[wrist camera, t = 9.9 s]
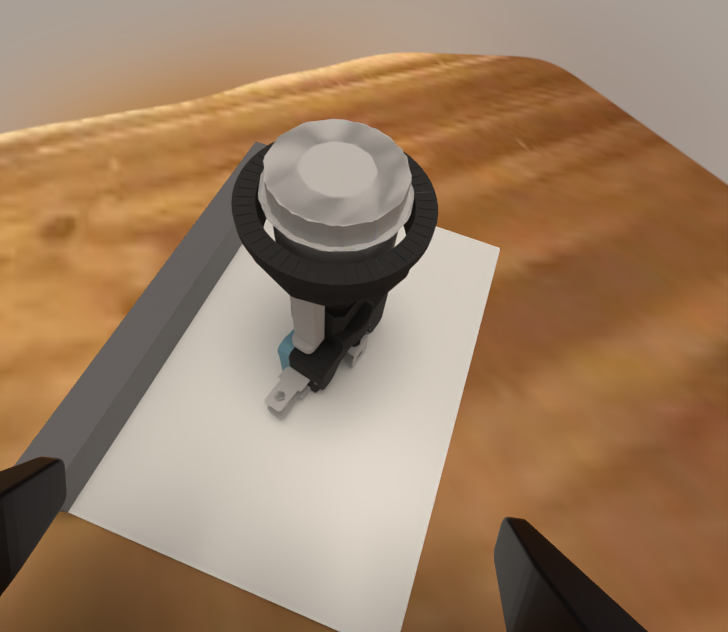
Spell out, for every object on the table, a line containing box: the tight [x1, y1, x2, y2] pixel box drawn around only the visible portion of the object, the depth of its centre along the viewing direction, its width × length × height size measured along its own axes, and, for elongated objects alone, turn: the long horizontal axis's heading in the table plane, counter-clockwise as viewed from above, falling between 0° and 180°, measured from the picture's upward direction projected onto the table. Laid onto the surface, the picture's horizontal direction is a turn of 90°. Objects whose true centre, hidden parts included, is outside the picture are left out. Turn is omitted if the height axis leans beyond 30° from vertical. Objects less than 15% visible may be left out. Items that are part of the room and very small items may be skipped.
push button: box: [231, 119, 438, 419], centre depth 14 cm, size 7×5×10 cm
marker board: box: [14, 142, 500, 632], centre depth 18 cm, size 18×14×2 cm
